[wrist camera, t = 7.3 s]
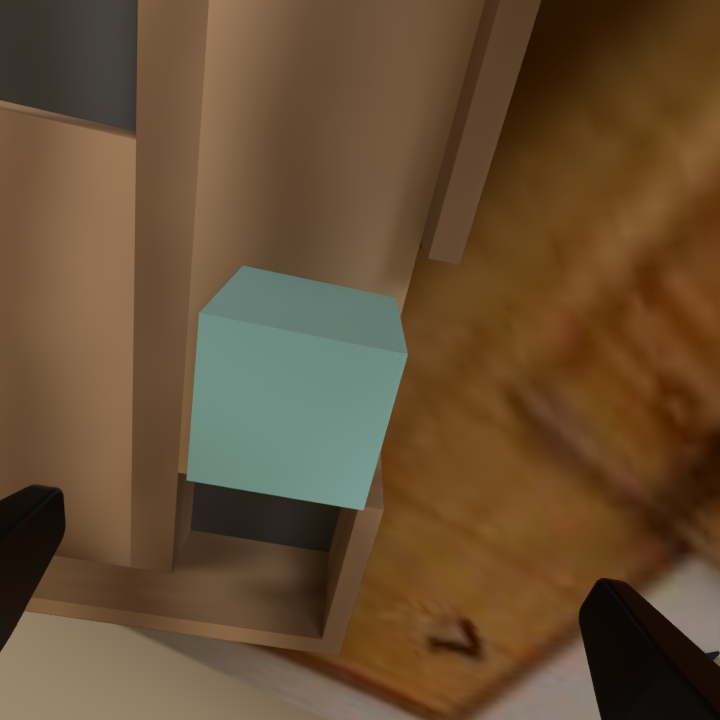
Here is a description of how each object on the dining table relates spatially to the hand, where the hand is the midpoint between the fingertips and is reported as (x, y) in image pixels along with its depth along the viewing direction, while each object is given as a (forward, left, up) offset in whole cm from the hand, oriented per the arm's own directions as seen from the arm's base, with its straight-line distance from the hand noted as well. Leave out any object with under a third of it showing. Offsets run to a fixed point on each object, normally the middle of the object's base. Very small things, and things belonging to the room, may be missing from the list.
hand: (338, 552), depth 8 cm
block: (+1, 0, -8) cm, 8 cm away
